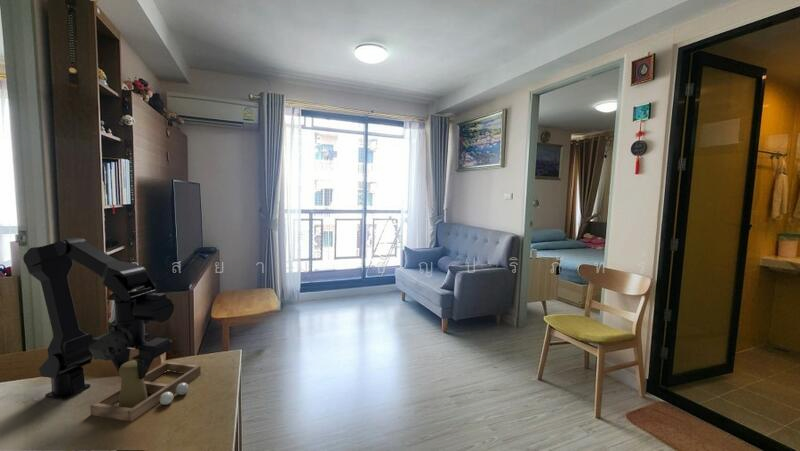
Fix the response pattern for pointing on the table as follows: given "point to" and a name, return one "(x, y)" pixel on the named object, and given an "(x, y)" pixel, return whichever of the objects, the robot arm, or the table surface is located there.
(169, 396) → the pebble
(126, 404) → the olive tapered figurine
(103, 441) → the table surface
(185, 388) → the pebble
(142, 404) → the caddy
